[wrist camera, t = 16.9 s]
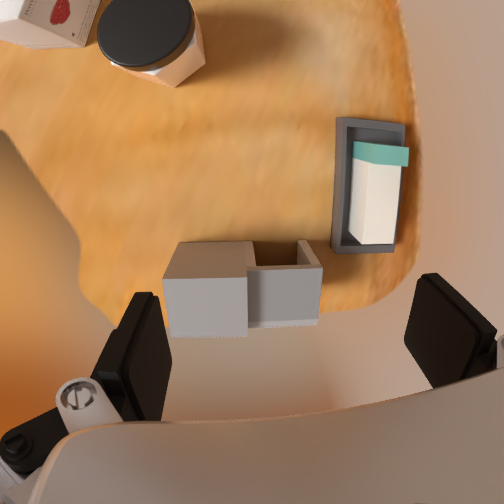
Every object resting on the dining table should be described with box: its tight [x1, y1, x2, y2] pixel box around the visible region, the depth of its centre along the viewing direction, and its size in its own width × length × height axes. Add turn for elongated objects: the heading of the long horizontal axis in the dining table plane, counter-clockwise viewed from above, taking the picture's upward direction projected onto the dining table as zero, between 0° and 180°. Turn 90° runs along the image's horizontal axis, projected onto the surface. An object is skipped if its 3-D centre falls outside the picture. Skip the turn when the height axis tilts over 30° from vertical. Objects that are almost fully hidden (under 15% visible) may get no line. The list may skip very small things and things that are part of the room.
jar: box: [97, 0, 206, 88], centre depth 25 cm, size 9×8×12 cm
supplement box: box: [0, 0, 101, 49], centre depth 20 cm, size 9×9×15 cm
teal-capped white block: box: [348, 141, 409, 244], centre depth 34 cm, size 11×4×6 cm, turn 0°
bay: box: [162, 240, 323, 338], centre depth 36 cm, size 7×16×10 cm, turn 90°
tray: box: [330, 117, 405, 254], centre depth 36 cm, size 16×8×2 cm, turn 0°
